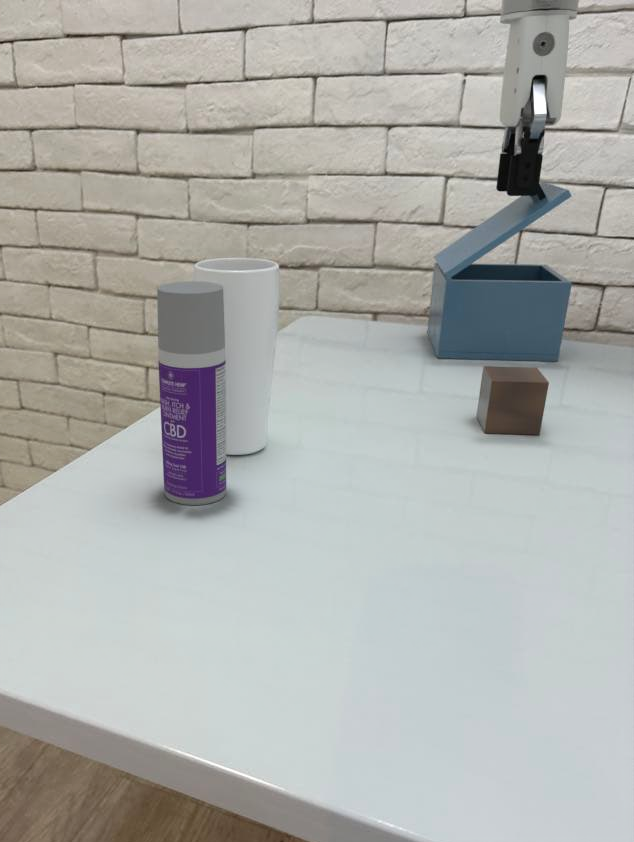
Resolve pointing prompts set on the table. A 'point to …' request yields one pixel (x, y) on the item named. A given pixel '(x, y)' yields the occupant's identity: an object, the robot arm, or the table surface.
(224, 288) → the drinking glass
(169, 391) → the container
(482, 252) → the lid
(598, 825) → the table surface
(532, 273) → the blue storage box
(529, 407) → the block
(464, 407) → the table surface
